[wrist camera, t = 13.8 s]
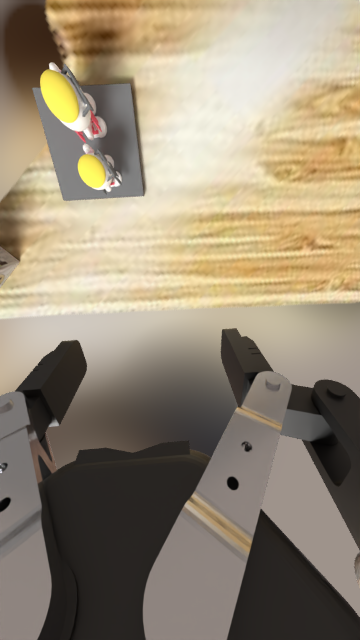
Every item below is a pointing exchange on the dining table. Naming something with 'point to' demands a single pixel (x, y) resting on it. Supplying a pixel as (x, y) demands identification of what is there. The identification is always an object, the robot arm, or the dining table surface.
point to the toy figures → (80, 125)
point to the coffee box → (6, 265)
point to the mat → (96, 143)
